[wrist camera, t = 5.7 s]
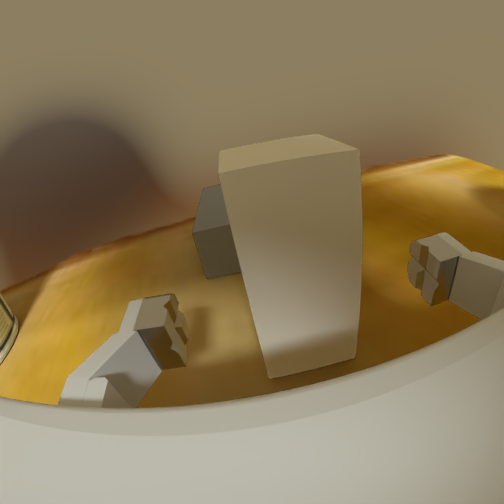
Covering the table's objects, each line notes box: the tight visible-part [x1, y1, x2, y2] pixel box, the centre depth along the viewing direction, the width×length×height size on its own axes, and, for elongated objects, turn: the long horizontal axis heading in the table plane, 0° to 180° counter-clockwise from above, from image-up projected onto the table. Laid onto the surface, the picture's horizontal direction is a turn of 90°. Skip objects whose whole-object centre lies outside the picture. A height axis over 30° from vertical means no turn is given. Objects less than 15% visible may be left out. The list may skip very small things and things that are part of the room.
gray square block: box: [192, 184, 242, 279], centre depth 23 cm, size 10×10×4 cm
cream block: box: [218, 134, 363, 379], centre depth 11 cm, size 4×4×9 cm
